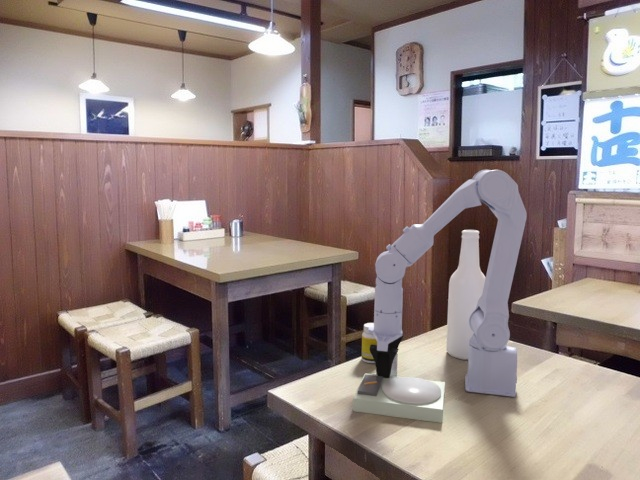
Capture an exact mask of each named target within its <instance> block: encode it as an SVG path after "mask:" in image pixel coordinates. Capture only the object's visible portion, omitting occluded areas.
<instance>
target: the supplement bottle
mask: <svg viewBox="0 0 640 480" xmlns="http://www.w3.org/2000/svg"><path fill="white" fill-rule="evenodd" d="M370 327H373V328H374V322H367V323H364V324H363V332H362V333H361V360H362V361H363V363H367V364H375V362H374V359H373V356H372V354H371V353H370V345H371V344H372V345H377V340H376V338H375V337H374V335H373V334H372V333H368V329H369V328H370Z"/></svg>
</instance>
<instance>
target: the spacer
mask: <svg viewBox="0 0 640 480" xmlns="http://www.w3.org/2000/svg"><path fill="white" fill-rule="evenodd" d="M398 361H399V360H398V353H397V354H396V356H395V358H394V360H393V363H392V368H391V374H390V376H394V377H398ZM375 374H377V371H376V370H375Z"/></svg>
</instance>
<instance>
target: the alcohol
mask: <svg viewBox="0 0 640 480" xmlns="http://www.w3.org/2000/svg"><path fill="white" fill-rule="evenodd" d="M479 234H480V231H479V230H476V229H464V230H462V231H461V236H460V238H461V245H460V253H459V259H458V265H457V269H455V271H454V272H453V273H452V274H451V276H450V278H449V282H448V299H447V300H448V302H447V321H446V322H447V325H446V345H445V346H446V352H447V353H448V355H449V356H451V357H452V358H455V359H459V360H462V361H464V360H465V361H468V359H469V340H470V339H471V337H472V336H473V334H474V332H473V331H472V330H471V328H470V325H469V318H470V315H471V314H472V312H473V311H474V310H475V309H476V307H477V303H478V300H479V298H480V297H481V295H482V293H483V288H484V283H485V279H486V275H485V274H484V273H483V272H482V270H481V266H480V247H479V246H480V243H479V239H480V235H479Z"/></svg>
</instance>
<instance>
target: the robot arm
mask: <svg viewBox="0 0 640 480" xmlns="http://www.w3.org/2000/svg"><path fill="white" fill-rule="evenodd" d="M482 203H483V204H485V206H488V208H489V210H490V211H491V212H492V214H493V215H494V216H495V218H496V219H497V223H496V229H495V232H494V237H493V243H492V246H491V251H490V256H489V261H488V265H487V271H486V274H485V277H486V279H485V283H484V288H483V293H482V295H481V297H480V298H479V300H478V303H477V307H476V309H475V310H474V311H473V312H472V314H471V315H470V318H469V325H470V328H471V330H472V331H473V332H474V334H473V336H472V337H471V339H470V340H469V359H468V360H467V361H468V363H467V374H464V375H465V378H464V379H465V380H464V382H465V384H464V385H465V388H464V389H465V391H466V392H470V393H475V394H476V393H477V394H486V395H493V396H504V397H511V398H515V397H516V395H517V393H516V390H517V389H516V388H517V382H518V374H517V373H518V350H517V347H515V346H510V345H507V344H508V342H509V341H510V337H511V332H510V329H509V318H510V314H509V304H508V303H509V298H510V294H511V288H512V284H513V280H514V275H515V271H516V268H517V267H516V266H517V262H518V257H519V255H520V254H519V253H520V248H521V244H522V241H523V235H524V231H525V226H526V221H527V219H528V218H527V215H528V214H527V210H526V208H525V205H524V202H523V200H522V197H521V193H520V192H519V185H518V183H517V182H516V181H515V180H514V179H513V178H512V177H511V176H510V175H509V174H508V173H507V172H505V171H504V170H501V169H492V170H491V169H482V170H479V171H478V172H476V173H475V174H474V175H473V177H472V178H471V179H467V180H466V181H465V182H464V183H462V184H461V185H460V186H459V187H458V188H456V189H455V191H454V192H453V193H452V194H451V195H449V197H447V199H446V200H444V202H443V203H442V204H441V205H440V206H439V207H438V208H437V209H435V211H434V212H433V213H432V214H431V215H430V216H429V217H428V218H427V219H426V220H425V221H424V222H423V223H421V224H420V223H419V224H418V223H417V224H416V223H415V224H412V225H411V226H410V227H409V226H408V225H407V226H405V227H404V228H403V229H402V232H403V233H402V235H401V236H400V237H398V238H397V239H396V240H395V241H394V242H393V243H392V244H390V243H389V244H388V245H386V248H385V249H386V251H383V252H381V253H380V254H379V255H378V256H377V257H376V261H375V263H374V266H375V274H376V278H375V287H374V305H373V306H374V307H373V308H374V309H373V312H374V313H373V315H374V316H373V323H374V328H373V327H370V328H369V329H368V333H372V334H373V335H374V337H375V338H376V340H377V345H372V344H371V345H370V353H371V354H372V356H373V359H374V362H375V363H374V365H375V372H376V371H377V376H383V378H389V377H390V374H391V368H392V363H393V360H394V358H395V356H396V354H398V351H399V350H400V349H399V346H400V343H401V341H402V340H403V338H404V332H403V329H402V327H403V301H404V300H403V298H404V295H403V294H404V288H403V278H404V276H405V274H406V269H407V268H408V267H411V266H413V264H415V263H416V262H417V261H418V260H419V259H420V258H421V257H422V256H423V255H424V254H425V253H426V252H427V251H428V250H430V248H432V246H434V241H435V240H434V236H435V235H436V234H437V233H438V232H440V231H441V230H443V228H444V227H445V226H447V225H448V224H449V223H451V221H452V220H453V219H455V217H457V216H458V215H459V214H460V213H461V212H463V211H464V210H465V209H469V208H475V207H480V206H482Z"/></svg>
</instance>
